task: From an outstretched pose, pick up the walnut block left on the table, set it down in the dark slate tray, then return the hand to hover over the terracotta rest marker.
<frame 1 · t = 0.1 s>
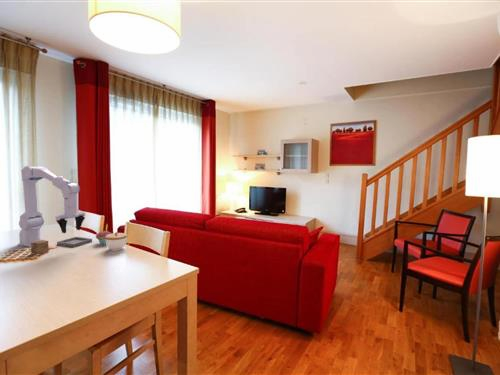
hand: (71, 231, 143), 10 cm above the table, fingers open, 7 cm apart
slate tray: (74, 243, 155), on the table
lidded jar: (116, 249, 147), on the table
rest marker: (50, 247, 146), on the table
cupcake: (104, 243, 157), on the table
walnut block: (39, 253, 137), on the table
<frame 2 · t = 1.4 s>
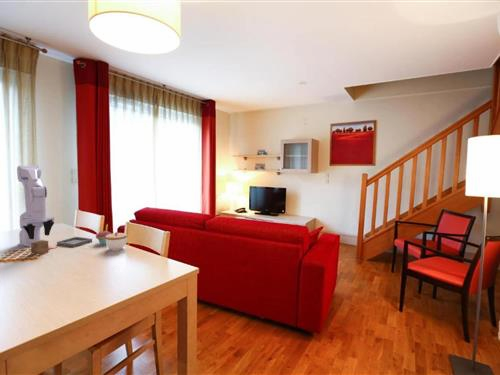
hand: (39, 237, 136), 8 cm above the table, fingers open, 7 cm apart
nothing on the table moved.
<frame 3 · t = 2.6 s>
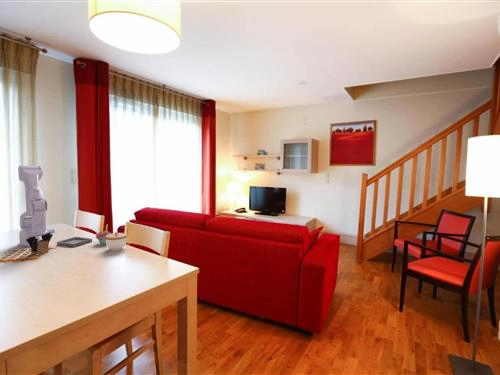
hand: (39, 249, 137), 2 cm above the table, fingers closed on walnut block, 5 cm apart
walnut block: (39, 252, 137), on the table, touching gripper
everything else where it was.
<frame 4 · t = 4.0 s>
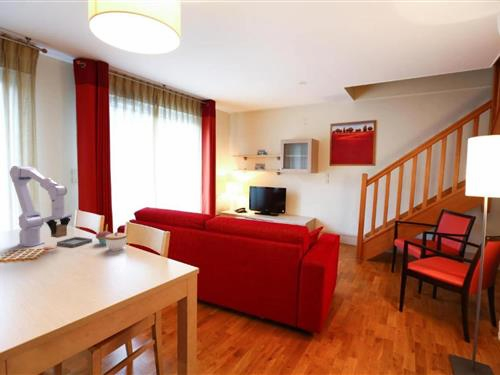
hand: (58, 232, 145), 8 cm above the table, fingers closed on walnut block, 5 cm apart
walnut block: (59, 236, 146), point 6 cm above the table, touching gripper
everything else where it was.
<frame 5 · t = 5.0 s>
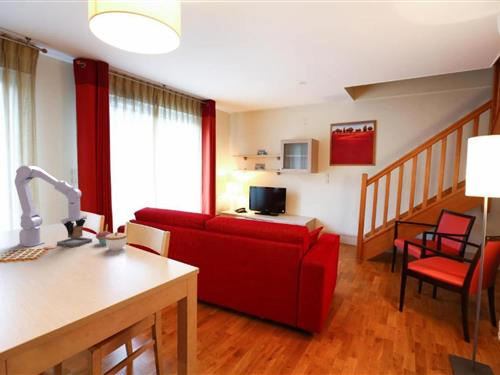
hand: (74, 233, 154), 6 cm above the table, fingers closed on walnut block, 5 cm apart
walnut block: (75, 236, 154), point 4 cm above the table, touching gripper
everything else where it was.
when the fingers open (4 cm above the table, at t = 5.8 s): walnut block drops 2 cm, resting on slate tray.
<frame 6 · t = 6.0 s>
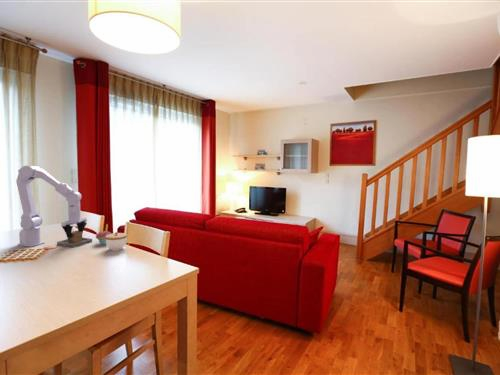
hand: (74, 236, 155), 4 cm above the table, fingers open, 7 cm apart
walnut block: (75, 242, 155), point 1 cm above the table, touching slate tray
everything else where it was.
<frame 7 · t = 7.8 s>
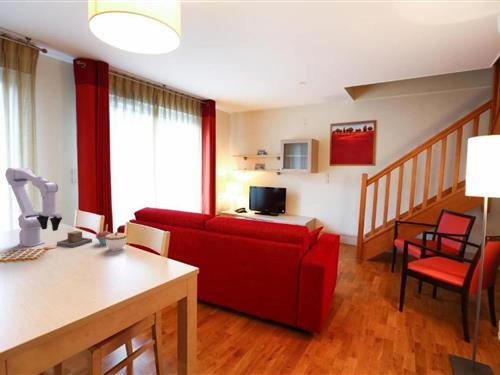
hand: (49, 229, 145), 10 cm above the table, fingers open, 7 cm apart
nothing on the table moved.
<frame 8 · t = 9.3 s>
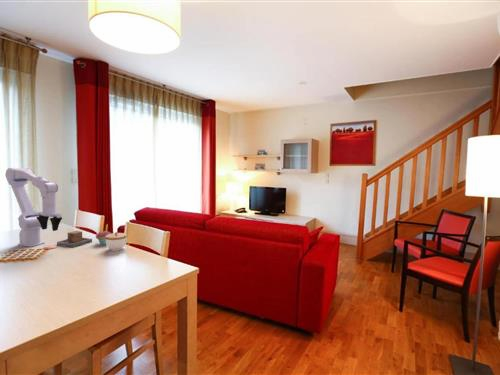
hand: (49, 229, 145), 10 cm above the table, fingers open, 7 cm apart
nothing on the table moved.
at the end: walnut block inside the target area on the slate tray (0.2 cm from its centre), point 0.6 cm above the slate tray's base; walnut block tilted 0°; the gripper is holding nothing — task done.
